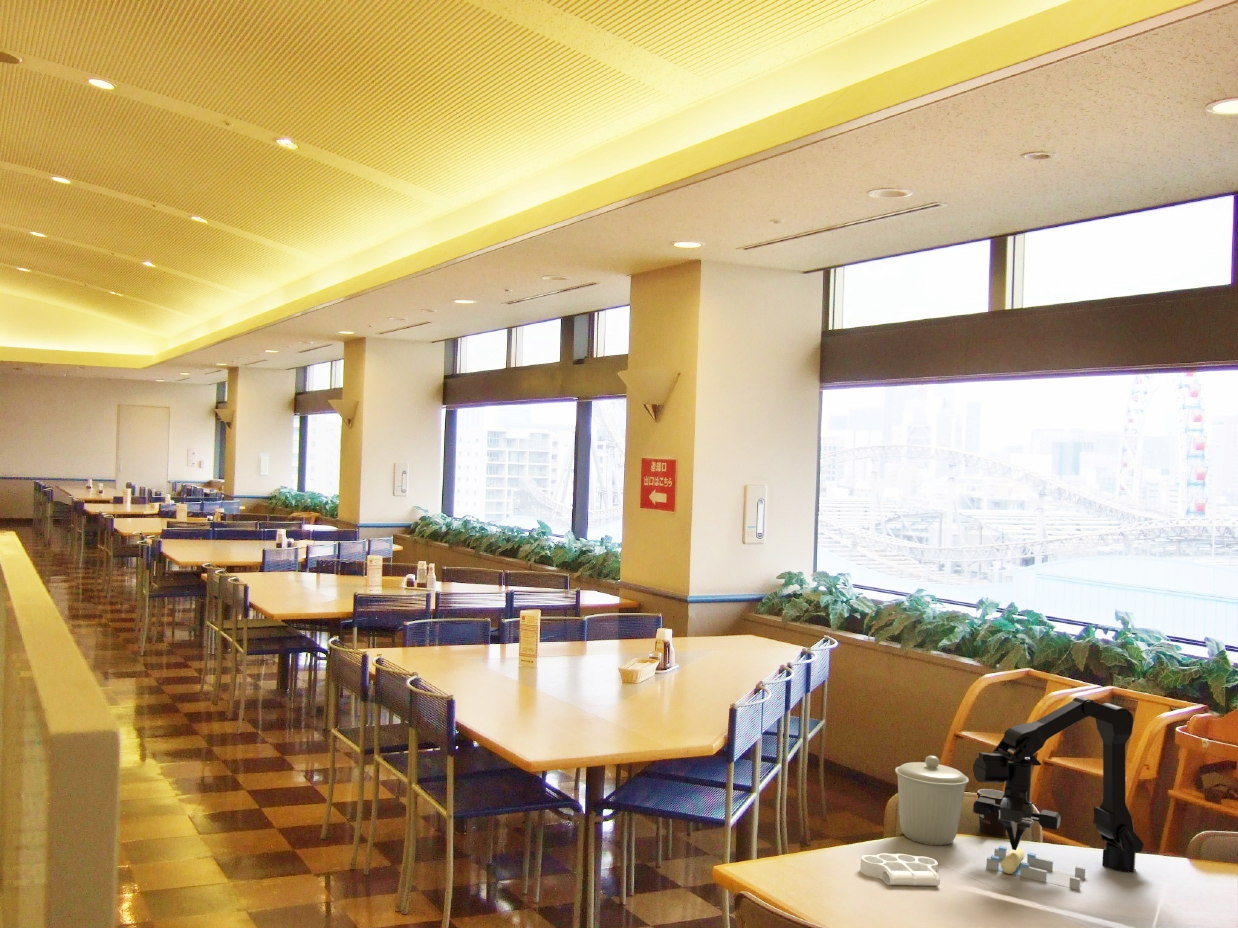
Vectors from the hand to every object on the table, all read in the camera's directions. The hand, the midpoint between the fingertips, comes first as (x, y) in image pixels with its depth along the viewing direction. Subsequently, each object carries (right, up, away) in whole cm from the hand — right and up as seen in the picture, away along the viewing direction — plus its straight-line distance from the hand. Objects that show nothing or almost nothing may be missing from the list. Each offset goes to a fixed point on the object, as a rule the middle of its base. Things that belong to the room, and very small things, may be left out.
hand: (1014, 849), depth 244 cm
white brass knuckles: (-29, -3, -8) cm, 30 cm away
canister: (-14, -5, +20) cm, 25 cm away
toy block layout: (+4, -5, -3) cm, 7 cm away
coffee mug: (+6, -7, +32) cm, 33 cm away
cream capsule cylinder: (-1, -4, -1) cm, 4 cm away
